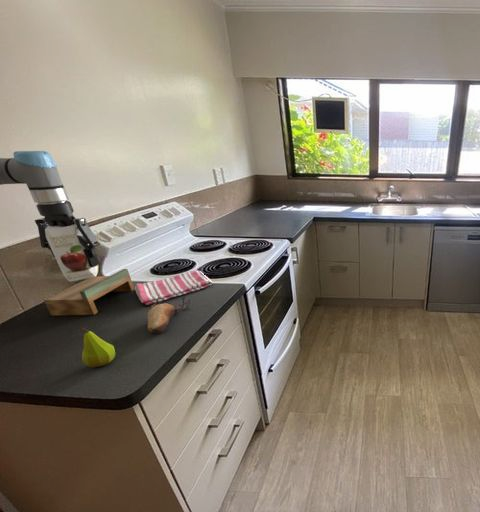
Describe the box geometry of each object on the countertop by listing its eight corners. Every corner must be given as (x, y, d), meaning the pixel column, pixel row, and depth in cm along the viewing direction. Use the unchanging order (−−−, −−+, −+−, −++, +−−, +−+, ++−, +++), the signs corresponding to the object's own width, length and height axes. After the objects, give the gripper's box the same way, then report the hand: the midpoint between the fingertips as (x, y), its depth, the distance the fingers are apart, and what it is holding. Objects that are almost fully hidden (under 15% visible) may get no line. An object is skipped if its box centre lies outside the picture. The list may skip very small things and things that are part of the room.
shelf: (51, 315, 97) (39, 292, 93) (98, 290, 113) (89, 269, 110) (94, 314, 97) (84, 291, 94) (134, 289, 114) (127, 268, 111)
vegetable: (189, 323, 88) (162, 301, 83) (155, 346, 86) (126, 324, 81) (196, 301, 101) (174, 281, 97) (167, 321, 99) (143, 301, 95)
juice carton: (69, 275, 102) (46, 224, 95) (102, 269, 107) (82, 220, 100) (64, 283, 96) (40, 229, 89) (99, 277, 101) (78, 225, 94)
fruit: (124, 354, 79) (109, 318, 75) (107, 371, 73) (89, 332, 69) (99, 356, 78) (82, 319, 74) (79, 373, 73) (60, 334, 68)
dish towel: (135, 291, 112) (132, 284, 111) (201, 273, 128) (199, 266, 127) (143, 308, 101) (140, 299, 100) (215, 285, 117) (213, 278, 116)
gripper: (99, 199, 96) (121, 261, 104) (29, 200, 95) (57, 262, 103) (77, 204, 89) (103, 270, 97) (2, 204, 88) (35, 270, 96)
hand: (80, 266), depth 100 cm, fingers closed on juice carton, 9 cm apart
